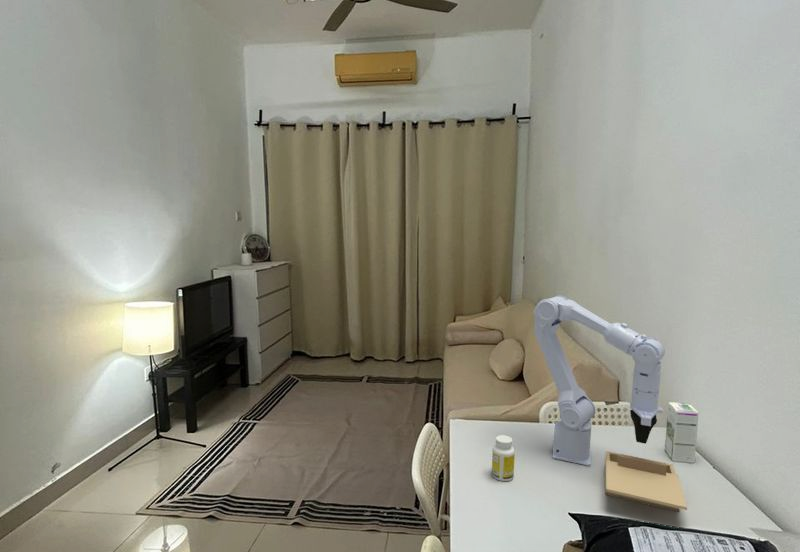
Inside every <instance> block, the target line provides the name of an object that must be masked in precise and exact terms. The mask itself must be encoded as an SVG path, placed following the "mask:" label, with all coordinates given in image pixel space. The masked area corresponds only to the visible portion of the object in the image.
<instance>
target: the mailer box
mask: <svg viewBox="0 0 800 552" xmlns="http://www.w3.org/2000/svg"><path fill="white" fill-rule="evenodd" d="M619 454H621V455H626V456H631V457H636V458H641V459H646V460H651V461H656V462H661V463H666V462H663V461H659V460H658V461H657V460H653V459H647V458H643V457H639V456H632V455H628V454H624V453H623V454H622V453H617V452H614V451H610V450H608V451H607V450H606V451H605V461H604V462H605V463H604V494H605V496H606V495H607V496H610V497H614V498H618V499H621V500H622V499H623V500H627V501H631V502H636V503H640V504H643V503H644V505H648V504H649V505H648V506H652V505H653V506H652V507H658V508H660V509H661V508H662V509H666V510H669V511H674V512H678V513H680V508H676V507H671V506H667V505H663V504H658V503H654V502H650V501H646V500H641V499H637V498H633V497H628V496H624V495H620V494H616V493H611V492H607V491H606V460H608V461H613V462H618V455H619ZM666 465H667V468H666V473H671V474H675V475H677V474H676V471H675V467H674V464H673V463H668V462H667V463H666Z"/></svg>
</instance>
